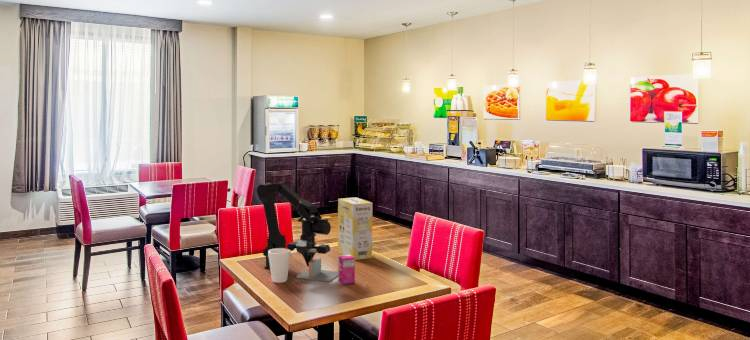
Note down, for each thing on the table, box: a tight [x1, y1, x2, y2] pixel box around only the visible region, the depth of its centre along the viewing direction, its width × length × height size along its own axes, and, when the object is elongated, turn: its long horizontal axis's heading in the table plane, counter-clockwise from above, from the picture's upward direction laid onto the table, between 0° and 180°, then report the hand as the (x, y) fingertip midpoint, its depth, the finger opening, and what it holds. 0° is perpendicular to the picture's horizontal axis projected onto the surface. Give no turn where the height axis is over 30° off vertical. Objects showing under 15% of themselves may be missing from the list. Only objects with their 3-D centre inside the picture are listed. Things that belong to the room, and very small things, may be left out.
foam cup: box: [268, 247, 292, 284], centre depth 230 cm, size 10×9×13 cm
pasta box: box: [337, 196, 373, 261], centre depth 273 cm, size 18×10×28 cm, turn 28°
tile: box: [308, 257, 322, 277], centre depth 239 cm, size 2×8×6 cm, turn 162°
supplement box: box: [337, 254, 356, 286], centre depth 229 cm, size 6×6×12 cm
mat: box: [295, 268, 338, 283], centre depth 238 cm, size 16×14×1 cm
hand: (308, 266), depth 239 cm, fingers closed
